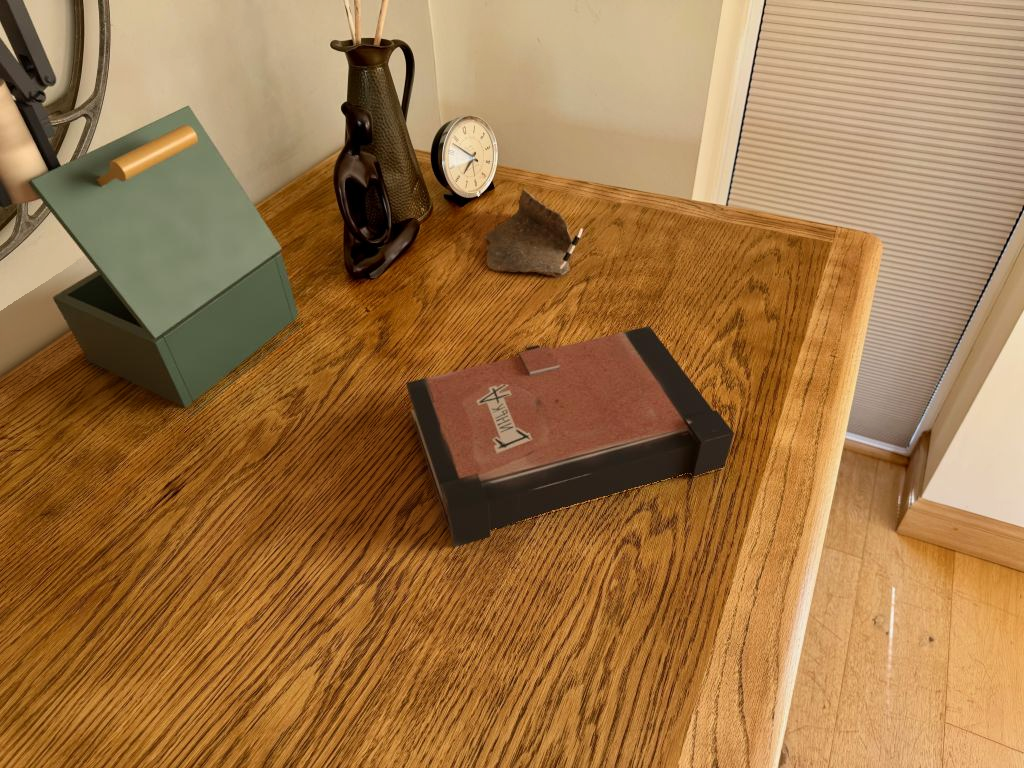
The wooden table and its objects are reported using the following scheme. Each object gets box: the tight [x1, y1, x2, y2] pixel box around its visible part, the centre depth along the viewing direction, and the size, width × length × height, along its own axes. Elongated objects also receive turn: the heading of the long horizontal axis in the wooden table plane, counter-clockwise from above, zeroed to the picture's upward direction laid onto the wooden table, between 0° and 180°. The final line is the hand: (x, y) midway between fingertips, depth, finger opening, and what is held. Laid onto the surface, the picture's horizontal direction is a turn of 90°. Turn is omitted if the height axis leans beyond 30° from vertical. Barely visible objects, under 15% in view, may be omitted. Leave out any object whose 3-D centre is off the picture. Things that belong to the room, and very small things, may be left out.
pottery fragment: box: [485, 188, 584, 278], centre depth 95 cm, size 18×11×5 cm
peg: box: [0, 78, 49, 205], centre depth 60 cm, size 4×4×9 cm
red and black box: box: [405, 325, 735, 548], centre depth 69 cm, size 26×18×5 cm
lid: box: [28, 105, 283, 339], centre depth 67 cm, size 16×17×6 cm
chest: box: [52, 251, 302, 418], centre depth 79 cm, size 15×17×10 cm
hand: (26, 188), depth 63 cm, fingers closed on peg, 4 cm apart
